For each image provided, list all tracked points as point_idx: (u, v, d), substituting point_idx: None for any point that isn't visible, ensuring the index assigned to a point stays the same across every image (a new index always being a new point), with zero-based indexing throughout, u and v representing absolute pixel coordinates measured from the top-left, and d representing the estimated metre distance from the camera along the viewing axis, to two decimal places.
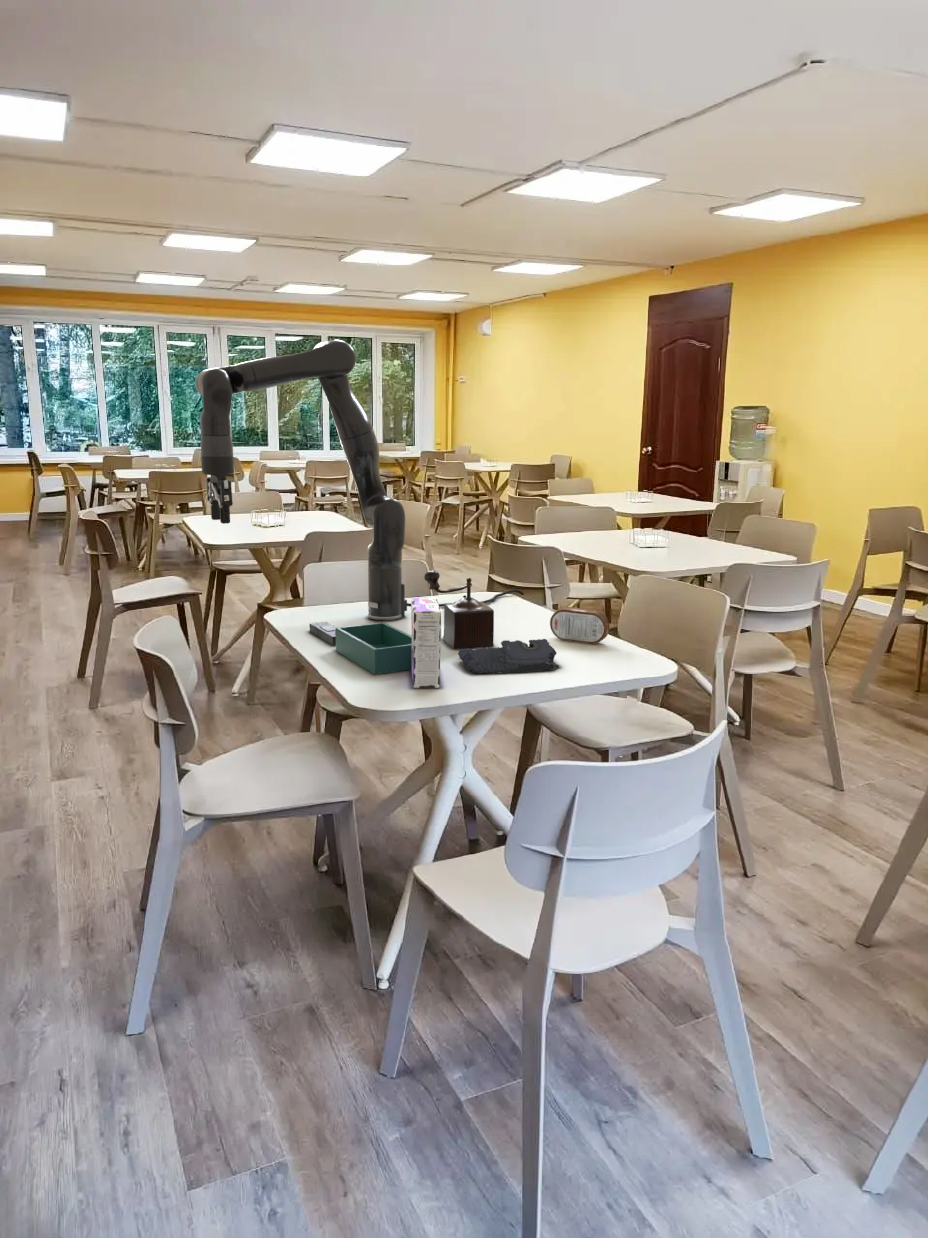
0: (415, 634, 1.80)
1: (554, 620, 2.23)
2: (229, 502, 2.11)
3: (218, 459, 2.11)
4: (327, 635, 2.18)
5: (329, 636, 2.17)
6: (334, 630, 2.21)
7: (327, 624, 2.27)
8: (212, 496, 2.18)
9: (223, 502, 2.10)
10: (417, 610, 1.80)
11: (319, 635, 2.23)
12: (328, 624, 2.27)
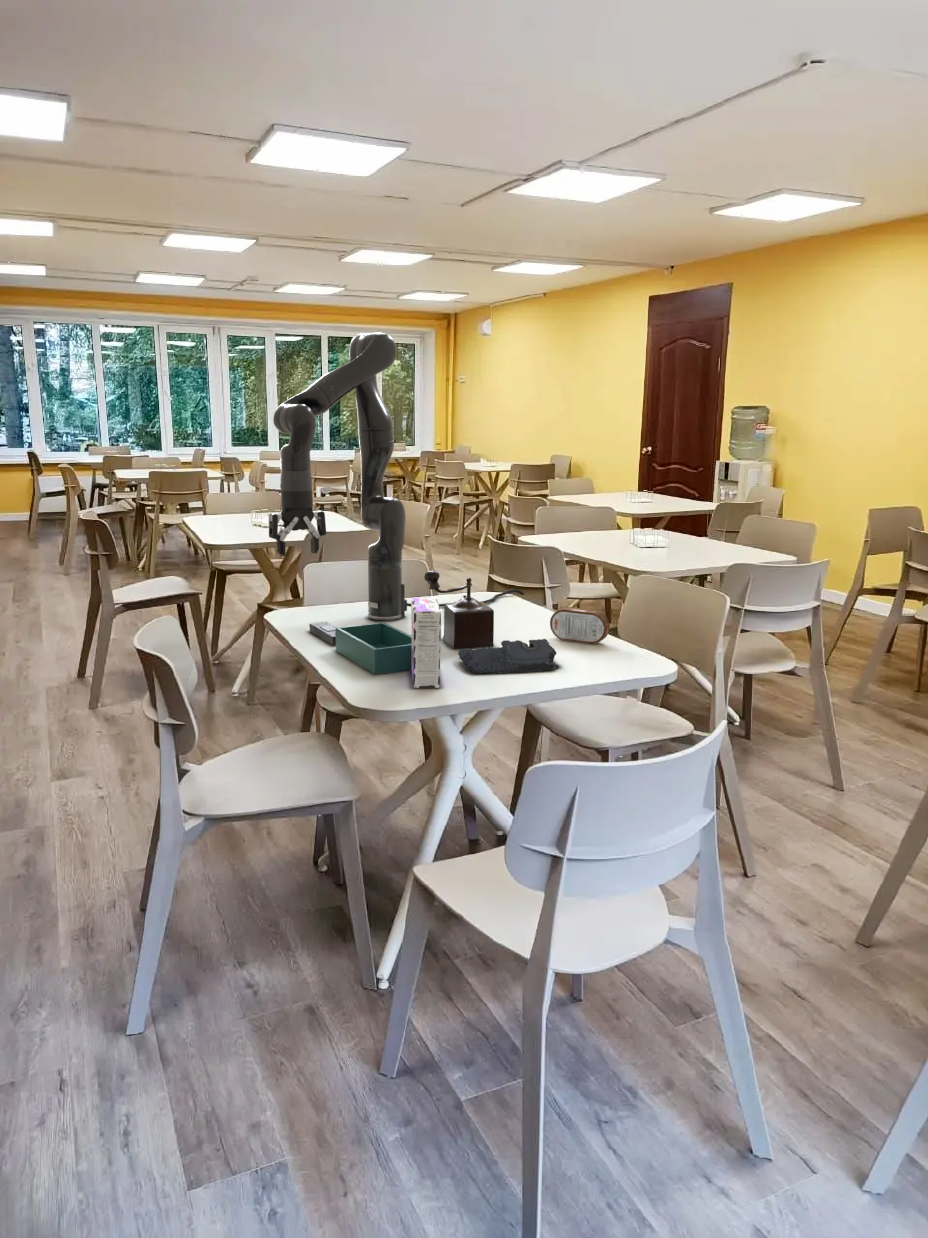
0: (415, 634, 1.80)
1: (554, 620, 2.23)
2: (271, 535, 2.13)
3: (281, 493, 2.14)
4: (327, 635, 2.18)
5: (329, 636, 2.17)
6: (334, 630, 2.21)
7: (327, 624, 2.27)
8: (306, 529, 2.20)
9: (269, 534, 2.14)
10: (417, 610, 1.80)
11: (319, 635, 2.23)
12: (328, 624, 2.27)
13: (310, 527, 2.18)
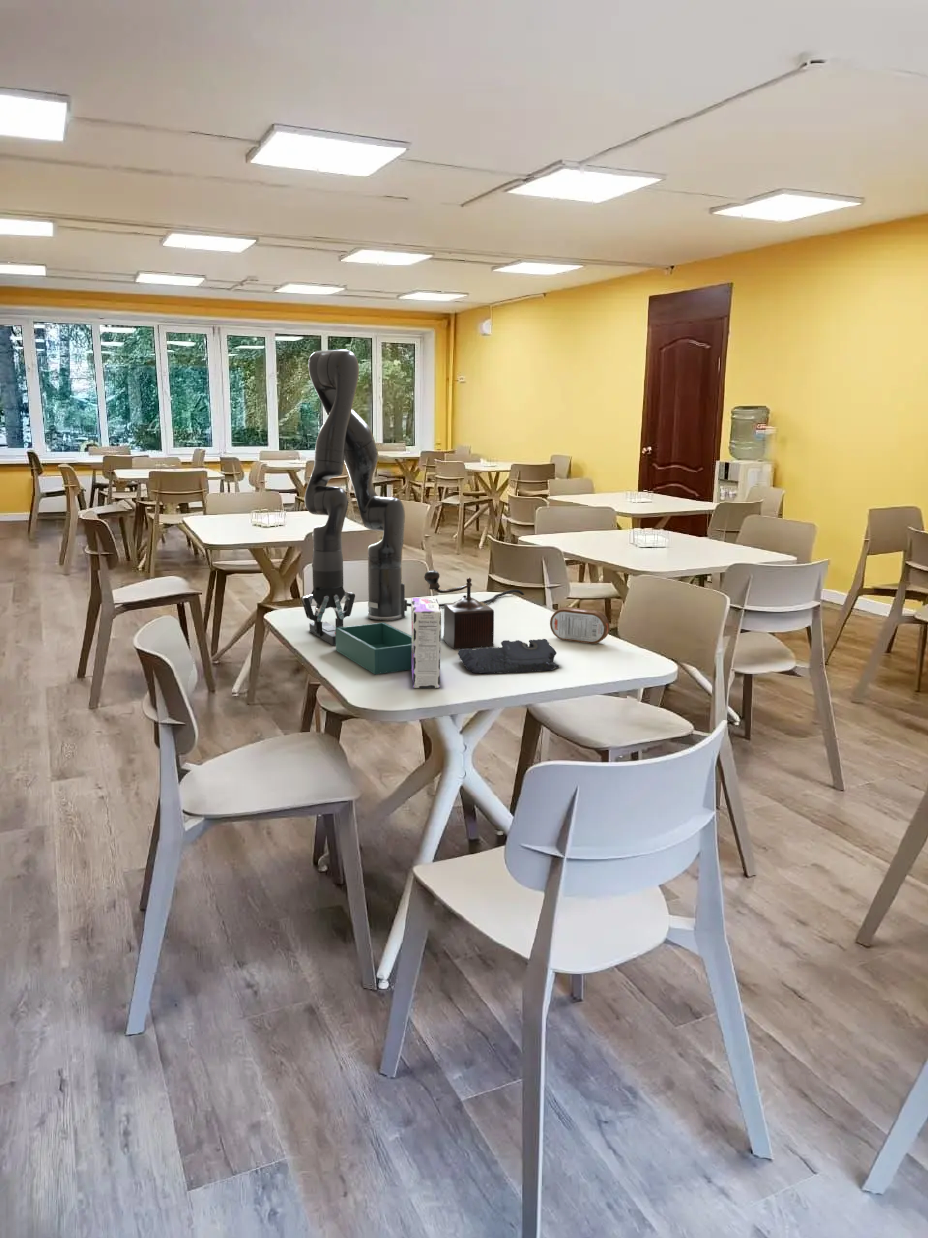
0: (415, 634, 1.80)
1: (554, 620, 2.23)
2: (309, 616, 2.19)
3: None
4: (327, 635, 2.18)
5: (329, 636, 2.17)
6: (334, 630, 2.21)
7: (327, 624, 2.27)
8: (333, 608, 2.23)
9: (307, 615, 2.20)
10: (417, 610, 1.80)
11: None
12: (328, 624, 2.27)
13: (337, 606, 2.21)
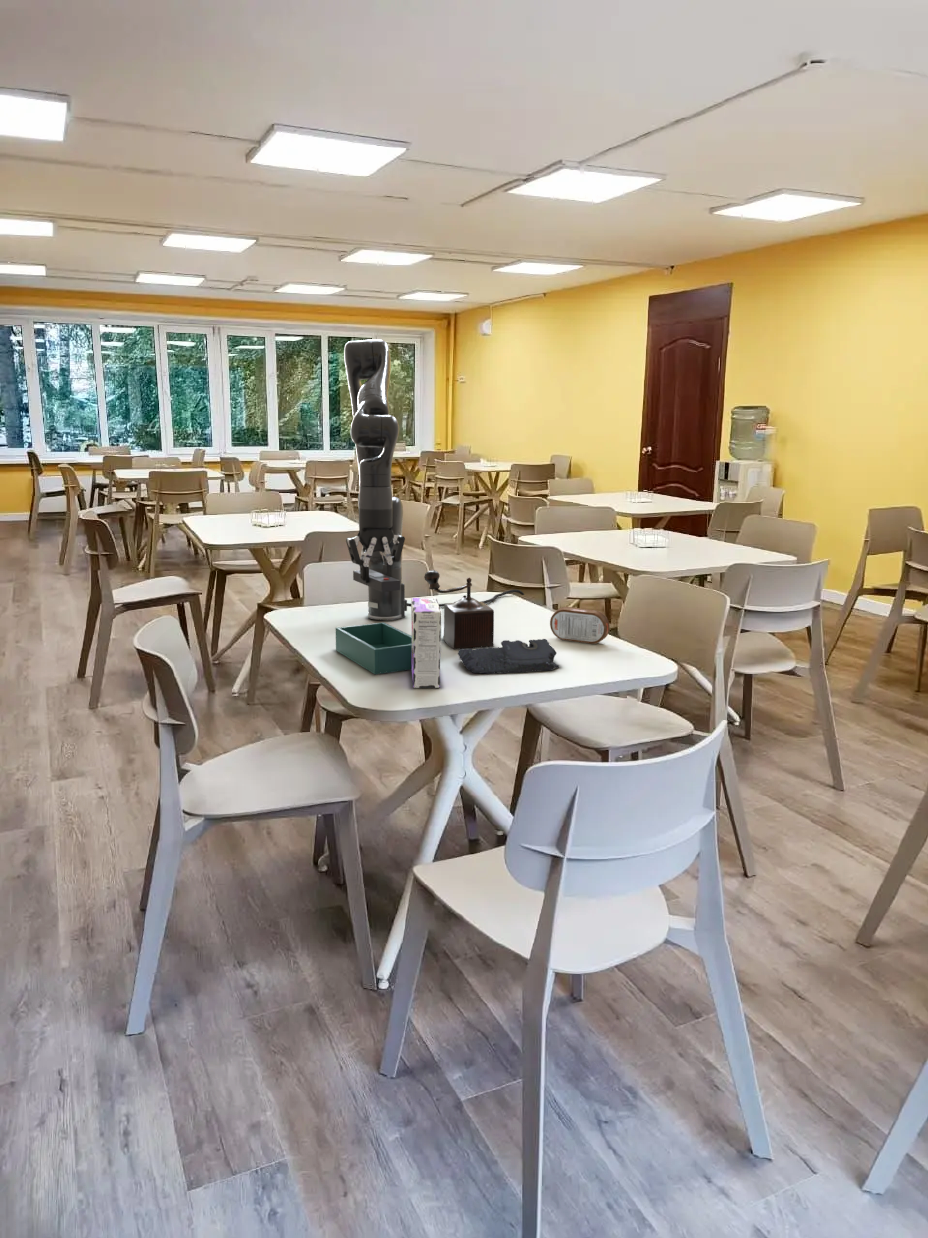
0: (415, 634, 1.80)
1: (554, 620, 2.23)
2: (354, 560, 1.97)
3: (359, 511, 1.97)
4: (375, 581, 1.96)
5: (377, 582, 1.95)
6: (382, 576, 1.99)
7: (373, 571, 2.06)
8: (381, 552, 2.02)
9: (352, 559, 1.98)
10: (417, 610, 1.80)
11: None
12: (374, 571, 2.06)
13: (386, 550, 1.99)
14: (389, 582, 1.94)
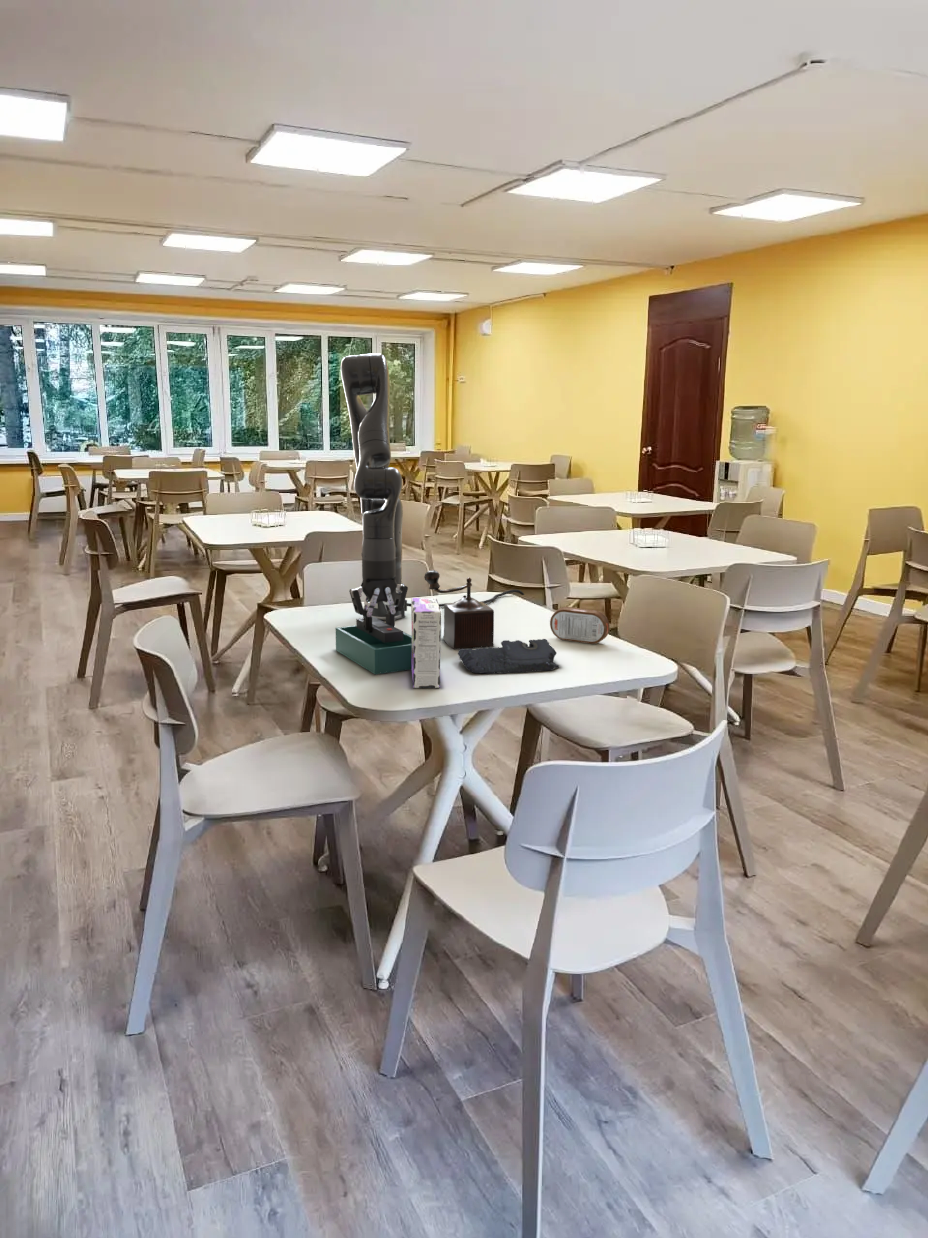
0: (415, 634, 1.80)
1: (554, 620, 2.23)
2: (358, 611, 1.99)
3: (362, 562, 1.98)
4: (378, 631, 1.98)
5: (381, 632, 1.97)
6: (385, 626, 2.01)
7: (376, 620, 2.07)
8: (384, 602, 2.03)
9: (355, 609, 2.00)
10: (417, 610, 1.80)
11: None
12: (377, 620, 2.07)
13: (389, 600, 2.01)
14: (392, 633, 1.96)
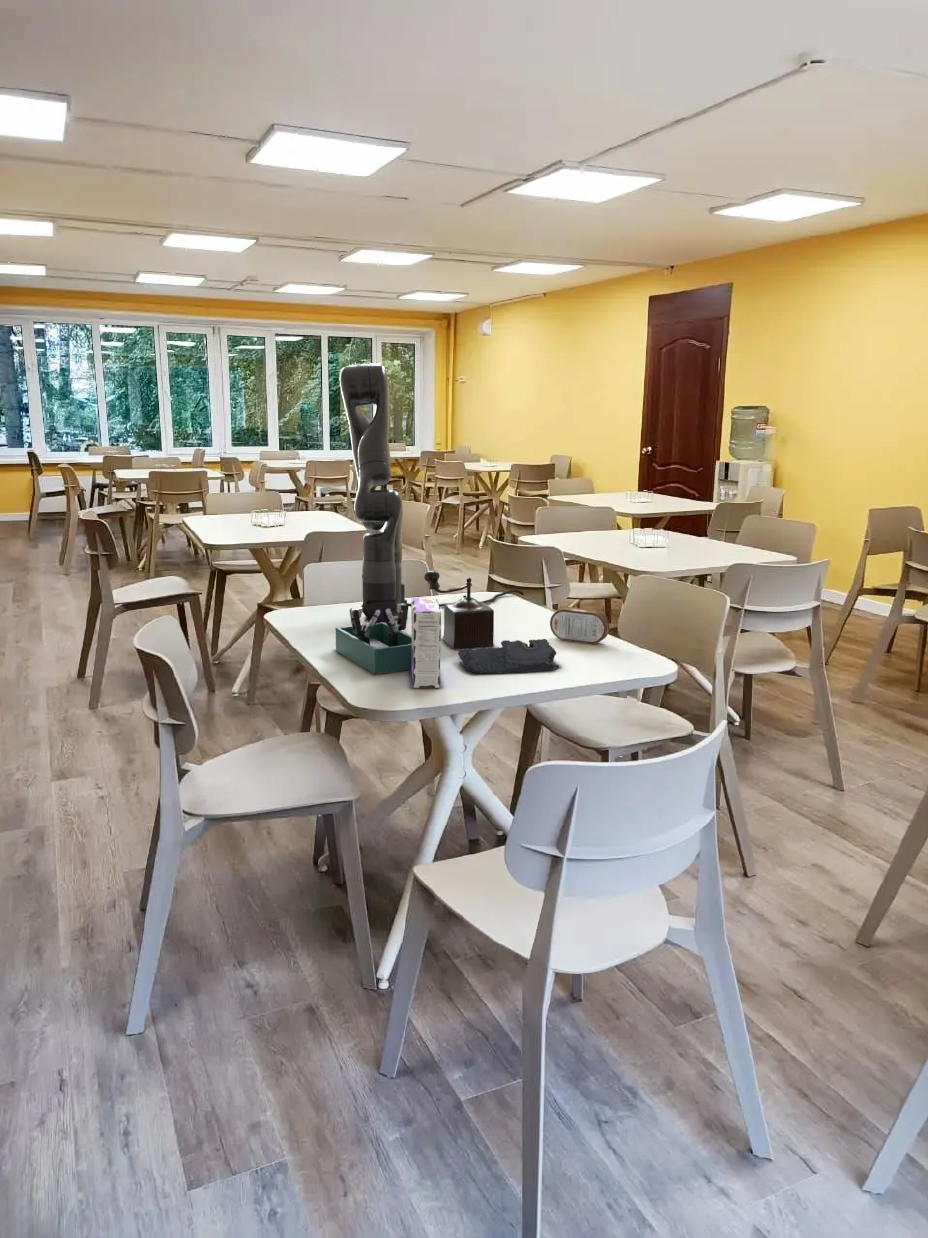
0: (415, 634, 1.80)
1: (554, 620, 2.23)
2: (356, 631, 2.00)
3: (362, 584, 1.99)
4: None
5: None
6: None
7: (376, 641, 2.08)
8: (386, 622, 2.05)
9: (353, 630, 2.01)
10: (417, 610, 1.80)
11: None
12: (377, 641, 2.08)
13: (391, 621, 2.02)
14: None
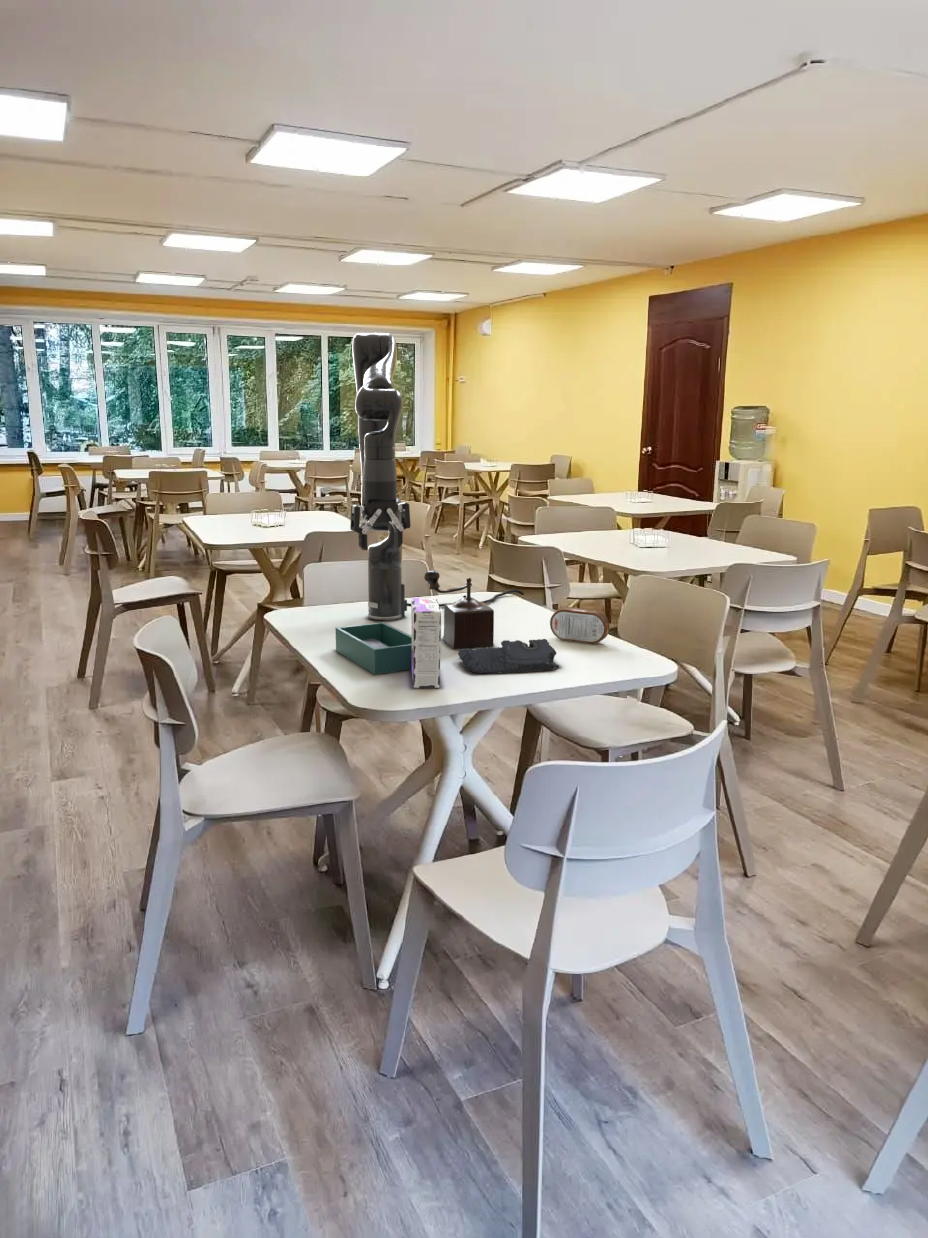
0: (415, 634, 1.80)
1: (554, 620, 2.23)
2: (353, 528, 2.02)
3: (364, 483, 2.02)
4: None
5: None
6: None
7: (376, 641, 2.08)
8: (390, 522, 2.08)
9: (350, 527, 2.03)
10: (417, 610, 1.80)
11: None
12: (377, 641, 2.08)
13: (394, 520, 2.05)
14: None
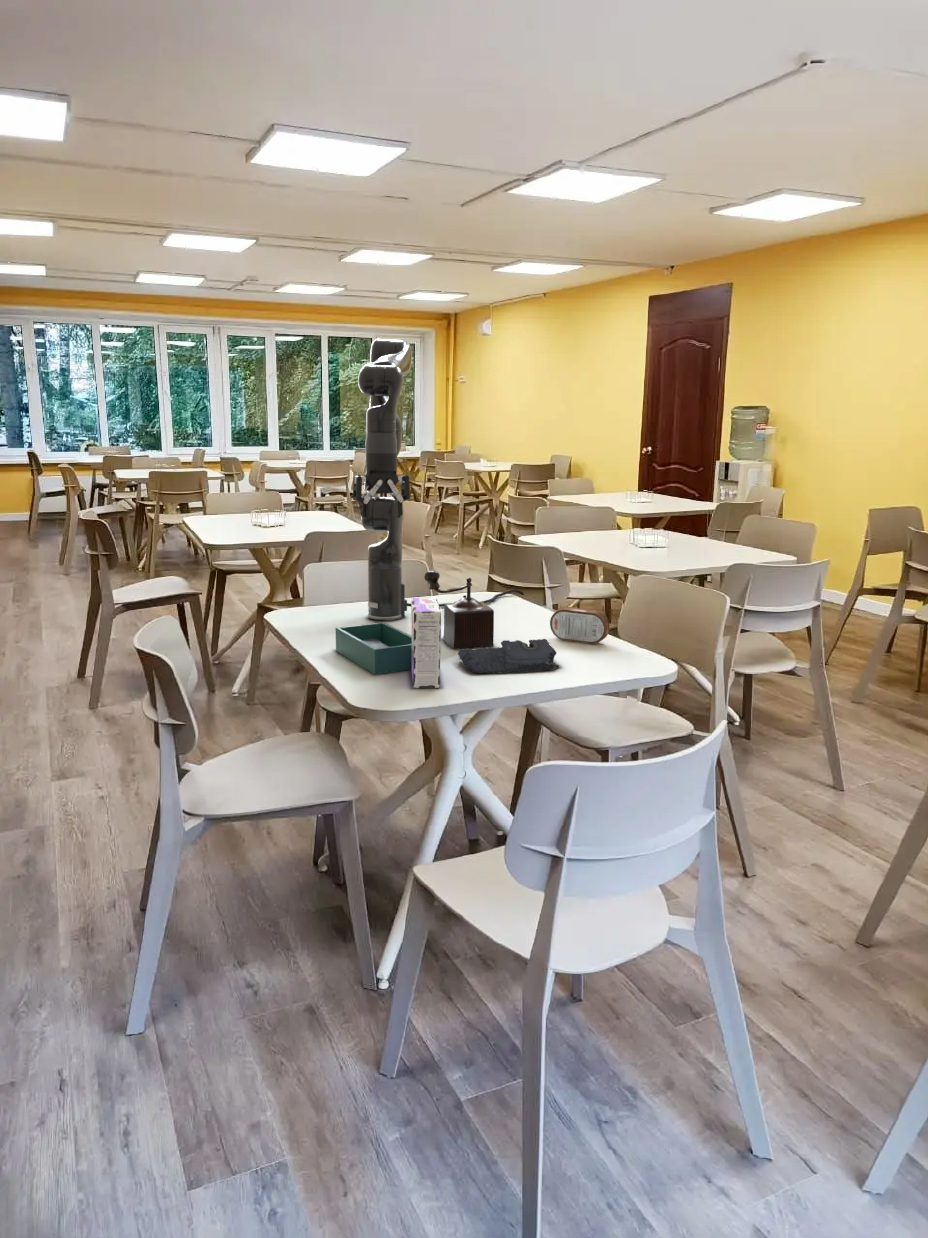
0: (415, 634, 1.80)
1: (554, 620, 2.23)
2: (355, 497, 2.12)
3: (366, 455, 2.13)
4: None
5: None
6: None
7: (376, 641, 2.08)
8: (390, 493, 2.18)
9: (353, 497, 2.14)
10: (417, 610, 1.80)
11: None
12: (377, 641, 2.08)
13: (394, 491, 2.16)
14: None
